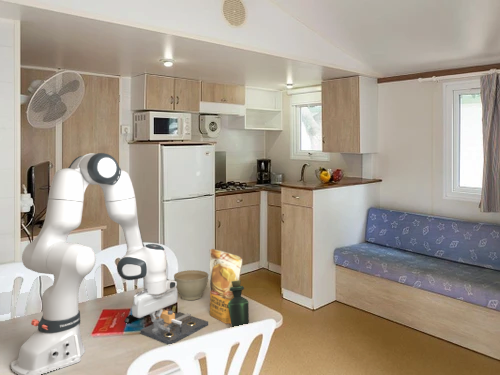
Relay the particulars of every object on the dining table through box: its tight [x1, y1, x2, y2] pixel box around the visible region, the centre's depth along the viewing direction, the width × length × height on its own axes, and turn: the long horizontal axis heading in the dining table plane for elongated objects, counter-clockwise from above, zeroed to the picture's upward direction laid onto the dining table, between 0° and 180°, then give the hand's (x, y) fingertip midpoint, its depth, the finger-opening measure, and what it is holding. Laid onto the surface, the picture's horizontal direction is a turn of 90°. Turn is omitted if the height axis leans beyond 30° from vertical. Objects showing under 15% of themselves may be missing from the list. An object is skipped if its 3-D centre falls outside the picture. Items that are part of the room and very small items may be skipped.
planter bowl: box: [173, 269, 209, 301], centre depth 195 cm, size 16×16×11 cm
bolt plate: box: [139, 312, 209, 346], centre depth 161 cm, size 21×16×6 cm
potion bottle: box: [228, 279, 250, 328], centre depth 161 cm, size 8×8×18 cm
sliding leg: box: [160, 308, 182, 329], centre depth 161 cm, size 3×12×5 cm, turn 55°
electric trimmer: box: [123, 311, 157, 325], centre depth 172 cm, size 4×16×3 cm, turn 140°
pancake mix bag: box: [208, 248, 244, 325], centre depth 171 cm, size 7×19×28 cm, turn 41°
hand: (155, 320), depth 160 cm, fingers closed
